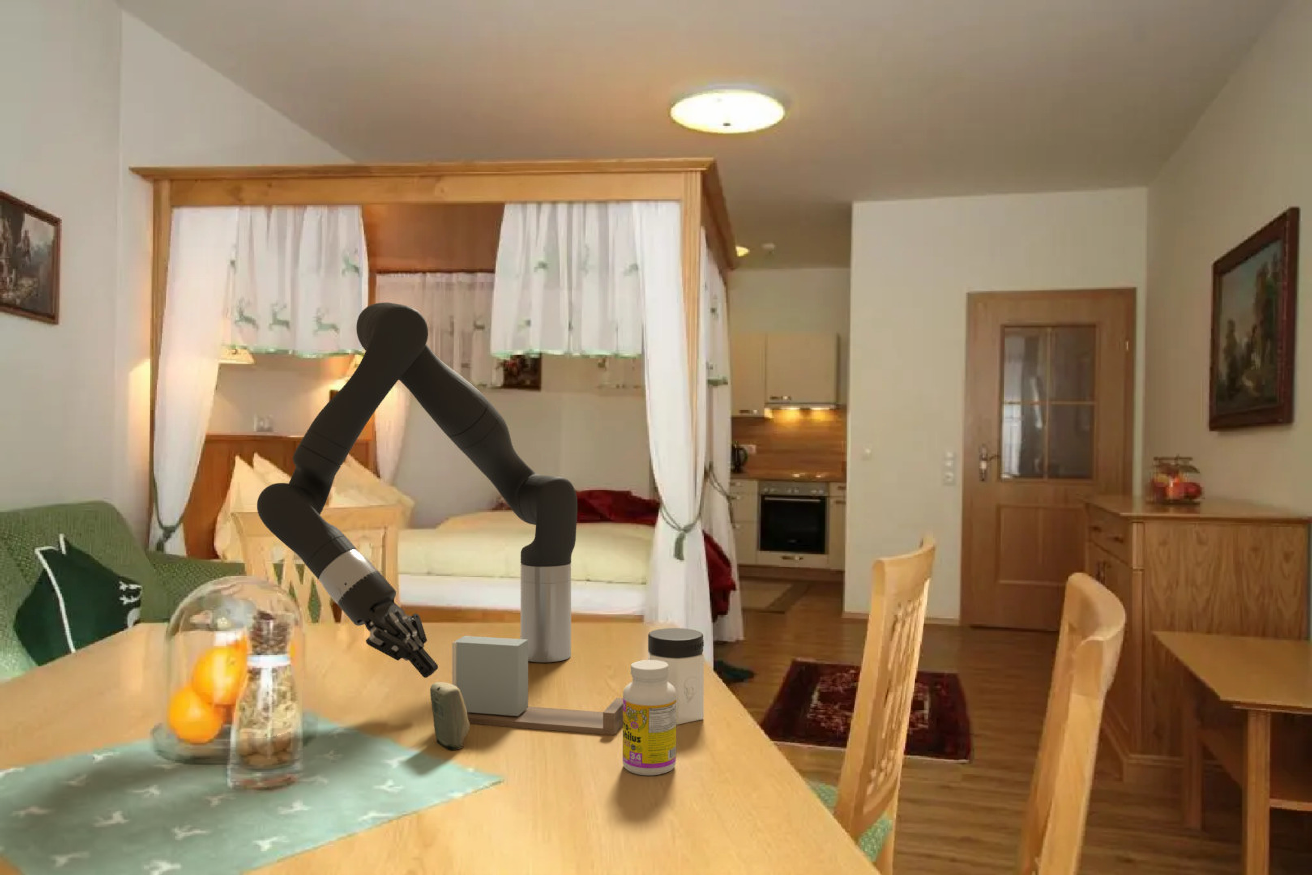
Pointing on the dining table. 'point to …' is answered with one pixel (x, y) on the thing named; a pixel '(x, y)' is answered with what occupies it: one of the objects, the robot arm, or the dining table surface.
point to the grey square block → (491, 674)
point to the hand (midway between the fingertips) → (432, 672)
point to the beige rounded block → (449, 715)
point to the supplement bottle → (649, 720)
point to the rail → (559, 719)
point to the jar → (682, 668)
